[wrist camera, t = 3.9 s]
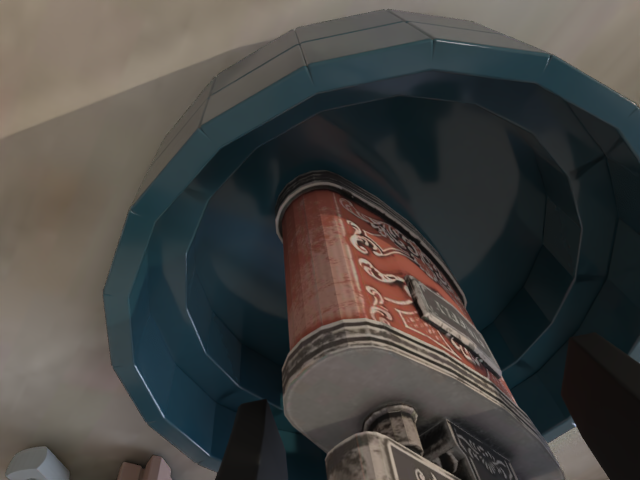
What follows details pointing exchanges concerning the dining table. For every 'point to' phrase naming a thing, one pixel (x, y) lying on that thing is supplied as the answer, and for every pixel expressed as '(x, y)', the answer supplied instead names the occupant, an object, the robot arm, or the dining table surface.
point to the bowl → (394, 190)
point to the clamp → (52, 476)
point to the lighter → (390, 349)
